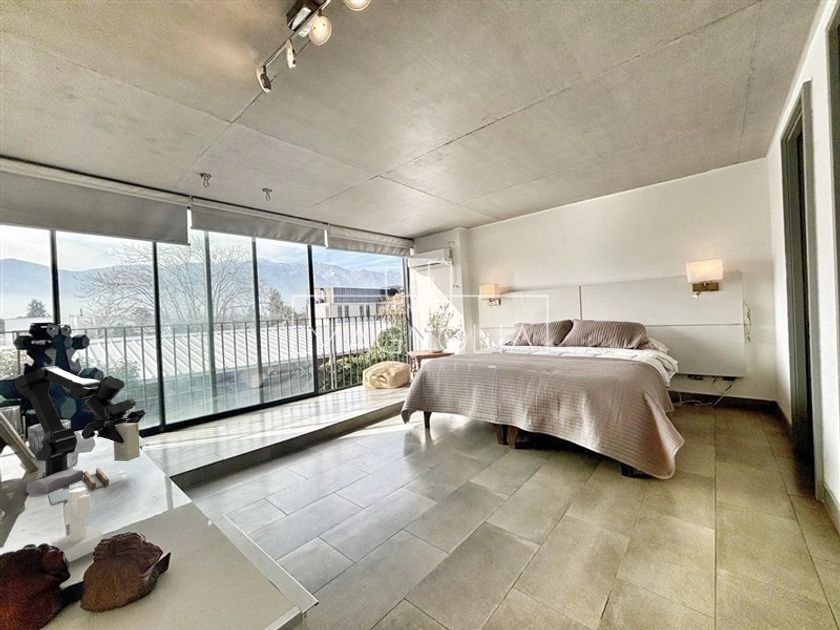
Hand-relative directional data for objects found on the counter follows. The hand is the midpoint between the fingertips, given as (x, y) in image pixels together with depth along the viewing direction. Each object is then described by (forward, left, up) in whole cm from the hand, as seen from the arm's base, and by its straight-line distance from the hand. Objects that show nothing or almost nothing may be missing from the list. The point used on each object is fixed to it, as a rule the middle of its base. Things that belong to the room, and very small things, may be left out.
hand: (129, 440), depth 124 cm
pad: (0, -16, -13) cm, 20 cm away
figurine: (+44, -19, -13) cm, 49 cm away
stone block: (-15, -17, -13) cm, 26 cm away
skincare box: (-1, -1, -7) cm, 7 cm away
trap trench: (-6, -8, -13) cm, 16 cm away
